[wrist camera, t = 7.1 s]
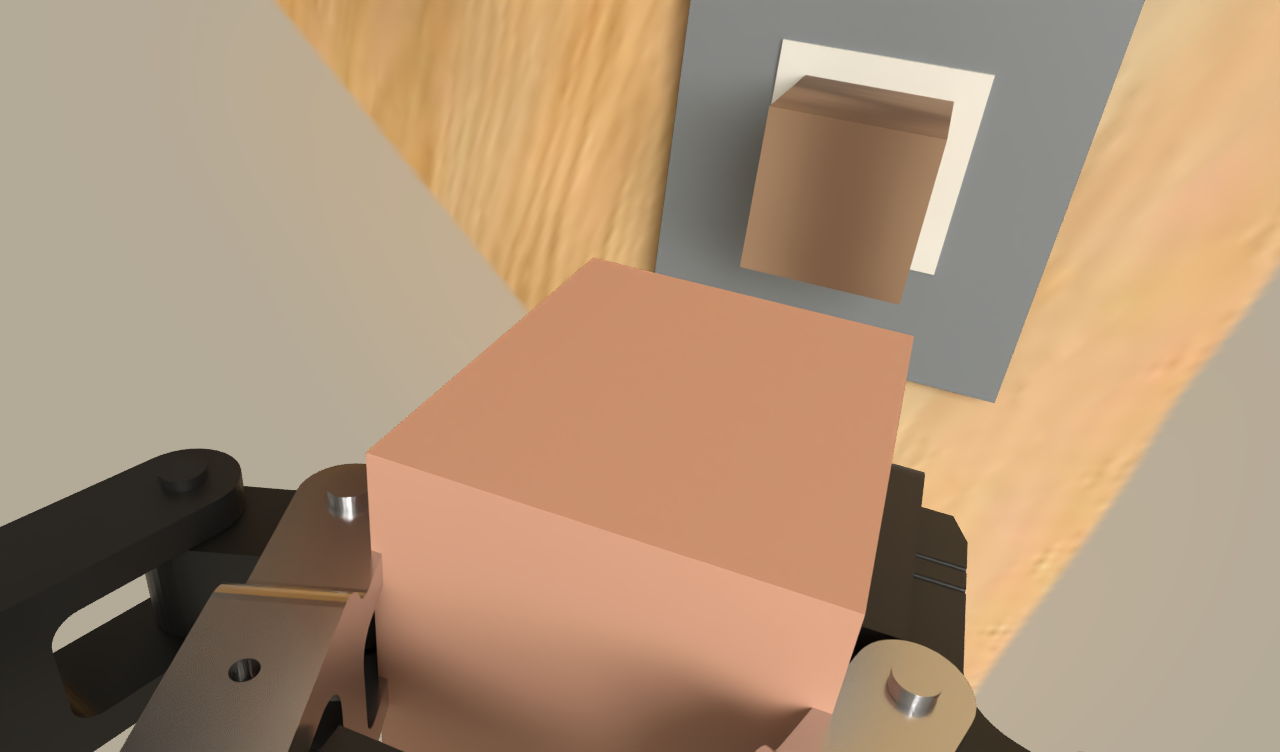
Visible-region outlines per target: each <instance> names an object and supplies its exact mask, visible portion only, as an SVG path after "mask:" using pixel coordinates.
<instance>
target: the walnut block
mask: <svg viewBox="0 0 1280 752" xmlns="http://www.w3.org/2000/svg"><path fill="white" fill-rule="evenodd" d="M953 105H954V101H948V100H942V99H937V98H931V97H926V96H920V95H915V94H909V93H904V92H898V91H892V90H887V89H881V88H876V87H870V86H865V85H859V84H854V83H848V82H842V81H837V80H831V79H826V78H820V77H815V76H809V75H805V76H804V77H803V78H802V79H800V80H799V81H798V82H797V83H796V84H795V85H793V86H792V87H791V88H790V89H789V90H788V91H786V92H785V93H784V94H783V95H782V96H781V97H779V98H778V99H777V100H776V101H775V102H774V103H772V104H771V105H770V106H769V111H768V117H767V122H766V128H765V133H764V138H763V144H762V149H761V155H760V160H759V166H758V171H757V177H756V182H755V187H754V193H753V198H752V204H751V209H750V215H749V220H748V226H747V231H746V237H745V242H744V247H743V253H742V258H741V264H740V267H743V268H747V269H751V270H755V271H759V272H764V273H768V274H772V275H776V276H780V277H785V278H789V279H793V280H797V281H801V282H806V283H810V284H814V285H818V286H822V287H827V288H831V289H835V290H839V291H843V292H848V293H852V294H856V295H860V296H864V297H869V298H873V299H877V300H881V301H885V302H890V303H894V304H898V305H900V301H901V298H902V294H903V291H904V288H905V284H906V281H907V277H908V274H909V270H910V267H911V263H912V260H913V256H914V253H915V250H916V246H917V243H918V239H919V236H920V232H921V229H922V225H923V222H924V218H925V215H926V212H927V208H928V205H929V201H930V198H931V194H932V191H933V187H934V184H935V180H936V177H937V174H938V170H939V167H940V163H941V160H942V156H943V153H944V149H945V146H946V142H947V138H948V133H949V127H950V122H951V116H952V110H953Z"/></svg>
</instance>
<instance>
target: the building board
mask: <svg viewBox="0 0 1280 752" xmlns="http://www.w3.org/2000/svg"><path fill="white" fill-rule="evenodd" d="M1144 1H1145V0H690V8H689V16H688V23H687V31H686V39H685V46H684V54H683V61H682V69H681V77H680V84H679V92H678V100H677V107H676V115H675V122H674V130H673V138H672V145H671V153H670V161H669V168H668V176H667V184H666V191H665V199H664V206H663V214H662V222H661V229H660V237H659V245H658V252H657V260H656V267H655V273H658V274H662V275H666V276H670V277H674V278H678V279H682V280H687V281H691V282H695V283H699V284H703V285H707V286H711V287H715V288H719V289H723V290H727V291H732V292H736V293H740V294H744V295H748V296H752V297H756V298H760V299H764V300H768V301H772V302H777V303H781V304H785V305H789V306H793V307H797V308H801V309H805V310H809V311H813V312H817V313H822V314H826V315H830V316H834V317H838V318H842V319H846V320H850V321H854V322H858V323H862V324H867V325H871V326H875V327H879V328H883V329H887V330H891V331H895V332H899V333H903V334H907V335H912V336H914V339H913V345H912V350H911V356H910V362H909V368H908V373H907V379H906V380H907V381H911V382H915V383H919V384H923V385H927V386H930V387H934V388H938V389H942V390H946V391H950V392H954V393H958V394H961V395H965V396H969V397H973V398H977V399H981V400H985V401H989V402H992V403H995V400H996V398H997V395H998V392H999V390H1000V387H1001V384H1002V381H1003V379H1004V376H1005V373H1006V371H1007V368H1008V365H1009V363H1010V360H1011V357H1012V355H1013V352H1014V349H1015V347H1016V344H1017V341H1018V339H1019V336H1020V333H1021V331H1022V328H1023V325H1024V323H1025V320H1026V317H1027V315H1028V312H1029V309H1030V307H1031V304H1032V301H1033V298H1034V296H1035V293H1036V290H1037V288H1038V285H1039V282H1040V280H1041V277H1042V274H1043V272H1044V269H1045V266H1046V264H1047V261H1048V258H1049V256H1050V253H1051V250H1052V248H1053V245H1054V242H1055V240H1056V237H1057V234H1058V232H1059V229H1060V226H1061V223H1062V221H1063V218H1064V215H1065V213H1066V210H1067V207H1068V205H1069V202H1070V199H1071V197H1072V194H1073V191H1074V189H1075V186H1076V183H1077V181H1078V178H1079V175H1080V173H1081V170H1082V167H1083V165H1084V162H1085V159H1086V157H1087V154H1088V151H1089V149H1090V146H1091V143H1092V140H1093V138H1094V135H1095V132H1096V130H1097V127H1098V124H1099V122H1100V119H1101V116H1102V114H1103V111H1104V108H1105V106H1106V103H1107V100H1108V98H1109V95H1110V92H1111V90H1112V87H1113V84H1114V82H1115V79H1116V76H1117V74H1118V71H1119V68H1120V65H1121V63H1122V60H1123V57H1124V55H1125V52H1126V49H1127V47H1128V44H1129V41H1130V39H1131V36H1132V33H1133V31H1134V28H1135V25H1136V23H1137V20H1138V17H1139V15H1140V12H1141V9H1142V7H1143V4H1144ZM805 75H809V76H815V77H820V78H826V79H831V80H837V81H842V82H848V83H854V84H859V85H865V86H870V87H876V88H881V89H887V90H892V91H898V92H904V93H909V94H915V95H920V96H926V97H931V98H937V99H942V100H948V101H954V105H953V110H952V116H951V122H950V127H949V133H948V138H947V142H946V146H945V149H944V153H943V156H942V160H941V163H940V167H939V170H938V174H937V177H936V180H935V184H934V187H933V191H932V194H931V198H930V201H929V205H928V208H927V212H926V215H925V218H924V222H923V225H922V229H921V232H920V236H919V239H918V243H917V246H916V250H915V253H914V256H913V260H912V263H911V267H910V270H909V274H908V277H907V281H906V284H905V288H904V291H903V294H902V298H901V301H900V305H898V304H894V303H890V302H885V301H881V300H877V299H873V298H869V297H864V296H860V295H856V294H852V293H848V292H843V291H839V290H835V289H831V288H827V287H822V286H818V285H814V284H810V283H806V282H801V281H797V280H793V279H789V278H785V277H780V276H776V275H772V274H768V273H764V272H759V271H755V270H751V269H747V268H743V267H740V264H741V258H742V253H743V247H744V242H745V237H746V231H747V226H748V220H749V215H750V209H751V204H752V198H753V193H754V187H755V182H756V177H757V171H758V166H759V160H760V155H761V149H762V144H763V138H764V133H765V128H766V122H767V117H768V111H769V106H770V105H771V104H772V103H774V102H775V101H776V100H777V99H778V98H779V97H781V96H782V95H783V94H784V93H785V92H786V91H788V90H789V89H790V88H791V87H792V86H793V85H795V84H796V83H797V82H798V81H799V80H800V79H802V78H803V77H804V76H805Z"/></svg>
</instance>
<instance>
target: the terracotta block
mask: <svg viewBox="0 0 1280 752" xmlns="http://www.w3.org/2000/svg"><path fill="white" fill-rule="evenodd" d="M913 339H914V336H912V335H907V334H903V333H899V332H895V331H891V330H887V329H883V328H879V327H875V326H871V325H867V324H862V323H858V322H854V321H850V320H846V319H842V318H838V317H834V316H830V315H826V314H822V313H817V312H813V311H809V310H805V309H801V308H797V307H793V306H789V305H785V304H781V303H777V302H772V301H768V300H764V299H760V298H756V297H752V296H748V295H744V294H740V293H736V292H732V291H727V290H723V289H719V288H715V287H711V286H707V285H703V284H699V283H695V282H691V281H687V280H682V279H678V278H674V277H670V276H666V275H662V274H658V273H654V272H650V271H646V270H642V269H637V268H633V267H629V266H625V265H621V264H617V263H613V262H609V261H605V260H601V259H596V258H592V259H591V260H590V261H589V262H588V263H586V264H585V265H584V266H583V267H582V268H581V269H579V270H578V271H577V272H576V273H575V274H574V275H572V276H571V277H570V278H569V279H568V280H567V281H565V282H564V283H563V284H562V285H561V286H560V287H558V288H557V289H556V290H555V291H554V292H553V293H551V294H550V295H549V296H548V297H547V298H546V299H544V300H543V301H542V302H541V303H540V304H539V305H537V306H536V307H535V308H534V309H533V310H532V311H530V312H529V313H528V314H527V315H526V316H525V317H523V318H522V319H521V320H520V321H519V322H518V323H516V324H515V325H514V326H513V327H512V328H511V329H509V330H508V331H507V332H506V333H505V334H504V335H502V336H501V337H500V338H499V339H498V340H497V341H495V342H494V343H493V344H492V345H491V346H490V347H488V348H487V349H486V350H485V351H484V352H483V353H482V354H480V355H479V356H478V357H477V358H475V359H474V360H473V361H472V362H471V363H470V364H468V365H467V366H466V367H465V368H464V369H463V370H461V371H460V372H459V373H458V374H457V375H456V376H455V377H453V378H452V379H451V380H450V381H449V382H447V383H446V384H445V385H444V386H443V387H442V388H440V389H439V390H438V391H437V392H436V393H435V394H433V395H432V396H431V397H430V398H429V399H428V400H426V401H425V402H424V403H423V404H422V405H421V406H419V407H418V408H417V409H416V410H415V411H414V412H413V413H411V414H410V415H409V416H408V417H407V418H405V419H404V420H403V421H402V422H401V423H400V424H398V425H397V426H396V427H395V428H394V429H393V430H391V431H390V432H389V433H388V434H387V435H386V436H384V437H383V438H382V439H381V440H380V441H379V442H377V443H376V444H375V445H374V446H373V447H372V448H370V449H369V450H368V451H367V452H366V467H367V485H368V502H369V520H370V537H371V550H372V551H375V552H378V553H381V554H382V571H383V587H382V590H381V593H380V595H379V598H378V601H377V604H376V607H375V625H376V643H377V661H378V676H381V677H383V678H386V679H388V696H389V706H388V710H387V713H386V716H385V720H384V723H383V727H382V730H381V731H382V743H384V744H387V745H389V746H392V747H394V748H397V749H399V750H401V751H404V752H755V751H756V750H757V749H759V748H760V747H762V746H764V745H768V746H770V747H771V748H772V749H774V750H776V749H778V748H779V747H780V746H781V745H782V744H783V742H784V741H785V740H786V739H787V738H788V736H789V735H790V734H791V733H792V732H793V730H794V729H795V728H796V727H797V726H798V724H799V723H800V722H801V721H802V720H803V719H804V717H805V716H806V715H807V714H808V713H809V711H810V710H811V709H812V708H816V709H819V710H822V711H824V712H827V713H830V714H832V713H833V710H834V707H835V704H836V701H837V698H838V695H839V692H840V689H841V686H842V683H843V680H844V677H845V674H846V671H847V668H848V665H849V662H850V659H851V656H852V653H853V650H854V647H855V644H856V641H857V638H858V635H859V632H860V629H861V626H862V623H863V620H864V617H865V612H866V607H867V601H868V595H869V590H870V584H871V578H872V573H873V567H874V561H875V555H876V550H877V544H878V538H879V533H880V527H881V521H882V516H883V510H884V504H885V499H886V493H887V487H888V481H889V476H890V470H891V464H892V459H893V453H894V447H895V442H896V436H897V430H898V424H899V419H900V413H901V407H902V402H903V396H904V390H905V385H906V379H907V373H908V368H909V362H910V356H911V350H912V345H913Z"/></svg>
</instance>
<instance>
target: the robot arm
mask: <svg viewBox="0 0 1280 752" xmlns="http://www.w3.org/2000/svg"><path fill="white" fill-rule="evenodd" d="M924 478H925V473H924V472H921V471H917V470H914V469H910V468H907V467H903V466H899V465H896V464H891V470H890V476H889V481H888V487H887V493H886V499H885V504H884V510H883V516H882V521H881V527H880V533H879V538H878V544H877V550H876V555H875V561H874V567H873V573H872V578H871V584H870V590H869V595H868V601H867V607H866V612H865V617H864V620H863V623H862V626H861V629H860V632H859V635H858V638H857V641H856V644H855V647H854V650H853V653H852V656H851V659H850V662H849V665H848V668H847V671H846V674H845V677H844V680H843V683H842V686H841V689H840V692H839V695H838V698H837V701H836V704H835V707H834V710H833V713H832V714H830V713H827V712H824V711H822V710H819V709H816V708H812V709H811V710H810V711H809V713H808V714H807V715H806V716H805V717H804V719H803V720H802V721H801V722H800V723H799V724H798V726H797V727H796V728H795V729H794V730H793V732H792V733H791V734H790V735H789V736H788V738H787V739H786V740H785V741H784V742H783V744H782V745H781V746H780V747H779V748H778V749H776V750H774V749H772V748H771V747H770V746H768V745H764V746H762V747H760V748H759V749H757V750H756V751H755V752H1030V751H1029V750H1027V749H1025V748H1024V747H1022V746H1021V745H1019V744H1017V743H1016V742H1014V741H1013V740H1011V739H1010V738H1008V737H1007V736H1005V735H1004V734H1003V733H1001V732H1000V731H999V730H998V729H996V728H995V727H994V726H993V725H992V724H991V723H990V722H989V721H988V720H987V719H986V718H985V717H984V716H983V714H982V713H981V712H980V711H979V709H978V708H977V707H976V699H975V696H974V693H973V690H972V688H971V686H970V684H969V682H968V681H967V679H966V678H965V677H964V672H963V667H964V635H965V604H966V594H965V590H966V573H965V572H966V568H967V541H966V539H965V537H964V535H963V533H962V532H961V530H960V528H959V526H958V524H957V522H956V521H955V519H954V517H953V516H951V515H947V514H944V513H940V512H937V511H934V510H930V509H927V508H923V507H921V505H922V496H923V487H924ZM143 574H145V575H146V580H147V584H148V588H149V593H150V598H148V599H147V600H145V601H143V602H142V603H140V604H138V605H136V606H134V607H133V608H131V609H129V610H127V611H126V612H124V613H122V614H120V615H119V616H117V617H115V618H113V619H112V620H110V621H109V622H106V623H105V624H103V625H101V626H100V627H98V628H96V629H94V630H92V631H91V632H89V633H87V634H86V635H84V636H82V637H80V638H79V639H77V640H75V641H73V642H72V643H70V644H68V645H67V646H65V647H63V648H61V649H59V650H58V651H56V652H54V653H53V652H52V641H53V637H54V635H55V633H56V631H57V630H58V628H59V627H60V626H61V624H62V623H63V622H64V621H65V620H66V619H67V618H68V617H69V616H70V615H72V614H73V613H75V612H77V611H78V610H80V609H82V608H84V607H85V606H87V605H89V604H91V603H93V602H95V601H96V600H98V599H100V598H102V597H104V596H105V595H107V594H109V593H111V592H113V591H114V590H116V589H118V588H120V587H122V586H124V585H125V584H127V583H129V582H131V581H133V580H135V579H136V578H138V577H140V576H142V575H143ZM382 587H383V571H382V554H381V553H378V552H375V551H372V550H371V537H370V520H369V502H368V485H367V467H366V464H344V465H337V466H334V467H330V468H327V469H324V470H321V471H319V472H317V473H315V474H313V475H312V476H310V477H309V478H307V479H306V480H305V481H304V482H303V483H302V484H301V485H300V486H299V488H298V489H297V490H284V489H272V488H260V487H248V486H243V480H242V473H241V468H240V465H239V463H238V462H237V461H236V460H235V459H234V458H233V457H231V456H230V455H228V454H226V453H223V452H220V451H216V450H210V449H186V450H179V451H174V452H170V453H167V454H163V455H160V456H158V457H155V458H153V459H150V460H148V461H146V462H144V463H142V464H139V465H137V466H135V467H133V468H130V469H128V470H126V471H124V472H122V473H119V474H117V475H115V476H113V477H111V478H108V479H106V480H104V481H102V482H99V483H97V484H95V485H93V486H90V487H88V488H86V489H84V490H82V491H80V492H77V493H75V494H73V495H70V496H68V497H66V498H64V499H62V500H59V501H57V502H55V503H53V504H50V505H48V506H46V507H44V508H42V509H39V510H37V511H35V512H33V513H30V514H28V515H26V516H24V517H21V518H19V519H17V520H15V521H13V522H11V523H8V524H6V525H4V526H1V527H0V752H94V751H95V750H97V749H98V748H100V747H101V746H102V745H104V744H105V743H107V742H108V741H110V740H111V739H113V738H114V737H116V736H117V735H119V734H120V733H122V732H123V731H125V730H126V729H128V728H129V727H131V726H132V725H134V724H135V723H136V722H137V723H136V724H135V726H134V728H133V730H132V731H131V733H130V735H129V736H128V738H127V740H126V742H125V744H124V745H123V747H122V748H121V750H120V752H404V751H401V750H399V749H397V748H394V747H392V746H389V745H387V744H384V743H382V742H380V741H378V740H379V737H380V733H381V730H382V727H383V723H384V720H385V716H386V713H387V710H388V706H389V696H388V679H386V678H383V677H381V676H378V661H377V643H376V625H375V607H376V604H377V601H378V598H379V595H380V593H381V590H382Z"/></svg>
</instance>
